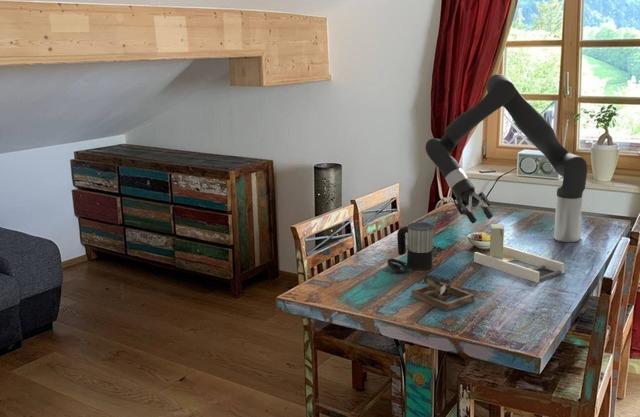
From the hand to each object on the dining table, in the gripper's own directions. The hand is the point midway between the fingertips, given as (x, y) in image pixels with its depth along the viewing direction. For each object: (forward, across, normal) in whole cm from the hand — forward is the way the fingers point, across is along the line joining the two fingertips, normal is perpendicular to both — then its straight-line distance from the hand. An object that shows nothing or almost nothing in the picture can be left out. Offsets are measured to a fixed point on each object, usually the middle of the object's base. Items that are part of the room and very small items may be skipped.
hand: (482, 219), depth 244 cm
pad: (+14, 0, +5) cm, 15 cm away
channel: (+21, 0, -2) cm, 21 cm away
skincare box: (+14, 0, +5) cm, 15 cm away
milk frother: (+4, -28, +15) cm, 32 cm away
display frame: (+23, -40, -4) cm, 46 cm away
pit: (+28, 0, -9) cm, 29 cm away
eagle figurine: (+22, -41, -2) cm, 46 cm away
